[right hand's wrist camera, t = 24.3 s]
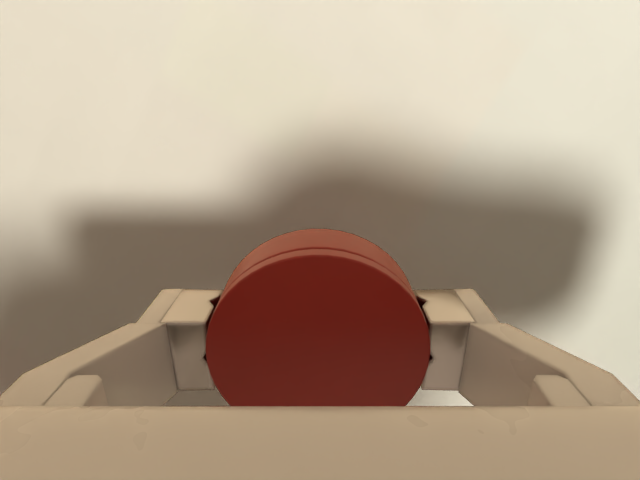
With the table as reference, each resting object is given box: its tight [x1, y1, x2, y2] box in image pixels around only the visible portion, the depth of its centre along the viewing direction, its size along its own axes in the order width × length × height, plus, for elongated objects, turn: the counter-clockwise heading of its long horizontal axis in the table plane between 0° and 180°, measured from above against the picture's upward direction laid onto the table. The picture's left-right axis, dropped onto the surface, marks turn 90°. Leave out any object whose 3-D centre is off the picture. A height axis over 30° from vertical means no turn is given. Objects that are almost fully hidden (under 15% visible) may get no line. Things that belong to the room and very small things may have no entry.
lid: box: [205, 229, 430, 406], centre depth 9 cm, size 5×5×2 cm
